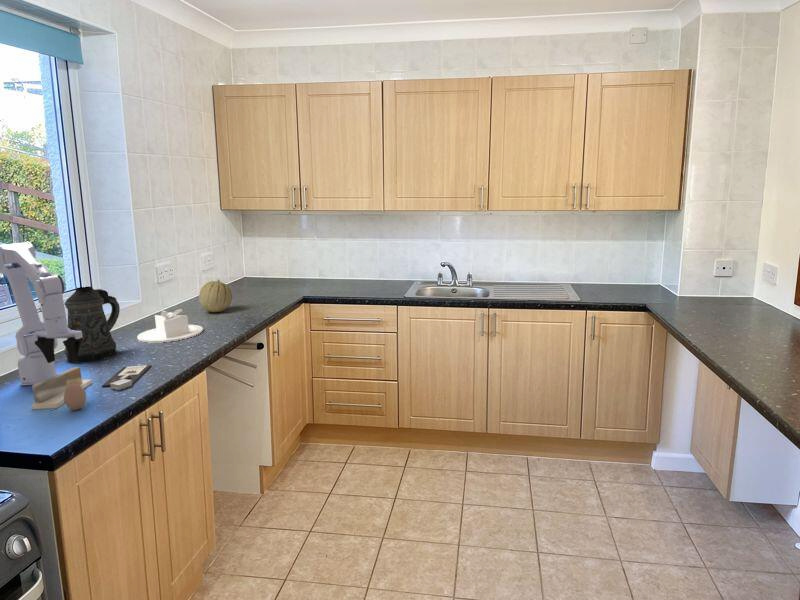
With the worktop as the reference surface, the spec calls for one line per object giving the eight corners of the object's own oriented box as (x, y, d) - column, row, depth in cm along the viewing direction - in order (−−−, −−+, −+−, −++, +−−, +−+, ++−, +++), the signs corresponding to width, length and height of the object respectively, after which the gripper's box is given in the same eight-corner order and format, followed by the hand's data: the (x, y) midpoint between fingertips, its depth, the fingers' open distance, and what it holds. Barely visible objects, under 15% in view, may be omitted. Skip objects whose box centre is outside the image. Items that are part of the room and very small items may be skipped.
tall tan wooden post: (35, 402, 162) (31, 385, 161) (76, 382, 177) (74, 367, 176) (41, 403, 162) (38, 386, 161) (82, 382, 177) (79, 367, 176)
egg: (92, 405, 161) (87, 380, 160) (80, 413, 156) (76, 387, 155) (73, 405, 162) (69, 380, 160) (61, 413, 156) (57, 387, 155)
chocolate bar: (101, 385, 176) (123, 367, 193) (102, 388, 176) (123, 369, 193) (132, 383, 176) (151, 365, 194) (133, 386, 177) (151, 367, 194)
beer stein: (55, 363, 203) (42, 293, 198) (91, 347, 222) (80, 283, 217) (98, 363, 201) (86, 292, 195) (131, 347, 219) (121, 281, 214)
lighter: (119, 390, 172) (143, 382, 179) (118, 385, 172) (142, 376, 178) (105, 387, 176) (129, 378, 182) (104, 381, 175) (128, 373, 182)
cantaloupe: (194, 315, 268) (190, 283, 265) (210, 308, 282) (206, 277, 279) (224, 315, 265) (220, 283, 262) (238, 308, 279) (235, 277, 276)
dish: (216, 330, 239) (212, 304, 236) (162, 347, 218) (158, 318, 216) (178, 325, 252) (174, 299, 250) (124, 339, 232) (120, 312, 229)
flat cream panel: (31, 409, 161) (30, 405, 160) (69, 384, 180) (68, 380, 180) (57, 407, 161) (56, 403, 160) (92, 382, 180) (91, 379, 180)
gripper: (86, 313, 171) (93, 357, 174) (43, 314, 173) (51, 357, 176) (69, 319, 164) (77, 365, 167) (24, 319, 167) (33, 365, 169)
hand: (62, 361), depth 171 cm, fingers open, 7 cm apart
